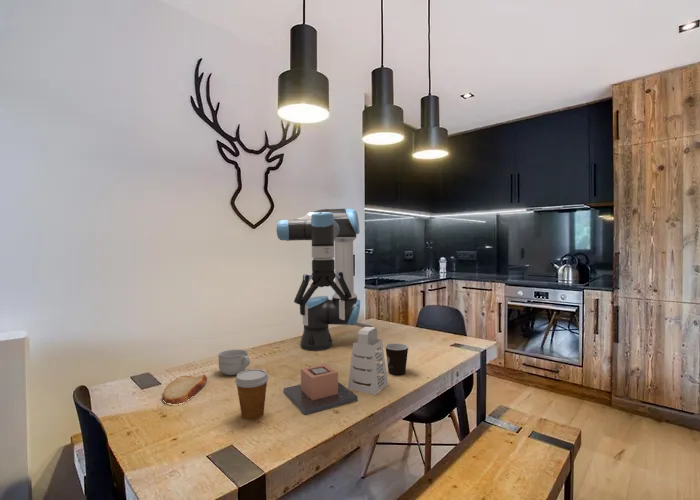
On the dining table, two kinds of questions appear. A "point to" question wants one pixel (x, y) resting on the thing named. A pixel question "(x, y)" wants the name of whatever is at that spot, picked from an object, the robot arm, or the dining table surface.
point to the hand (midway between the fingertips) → (324, 321)
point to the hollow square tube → (319, 382)
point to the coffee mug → (396, 358)
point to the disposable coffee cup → (252, 392)
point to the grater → (367, 362)
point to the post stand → (323, 403)
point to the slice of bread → (183, 389)
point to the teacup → (233, 361)
